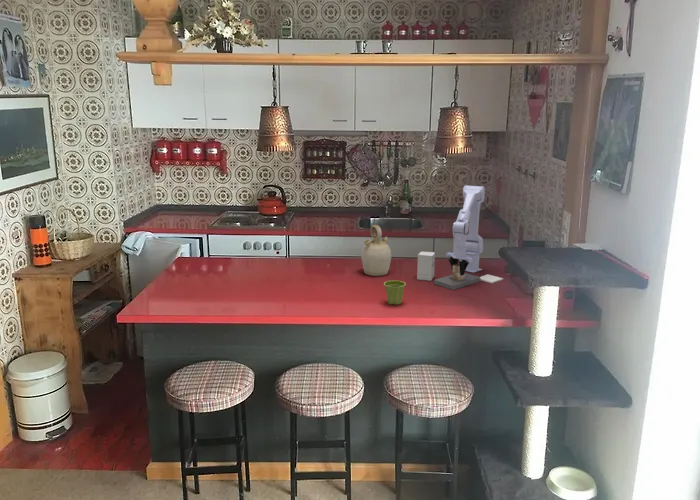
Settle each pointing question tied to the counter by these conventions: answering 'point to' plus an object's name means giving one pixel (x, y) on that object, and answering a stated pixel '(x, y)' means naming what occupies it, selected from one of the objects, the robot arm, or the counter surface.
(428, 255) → the supplement box
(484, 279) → the mat
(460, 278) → the plug
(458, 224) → the robot arm
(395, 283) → the plant pot
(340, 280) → the counter surface
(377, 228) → the jug
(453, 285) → the grey flat block
